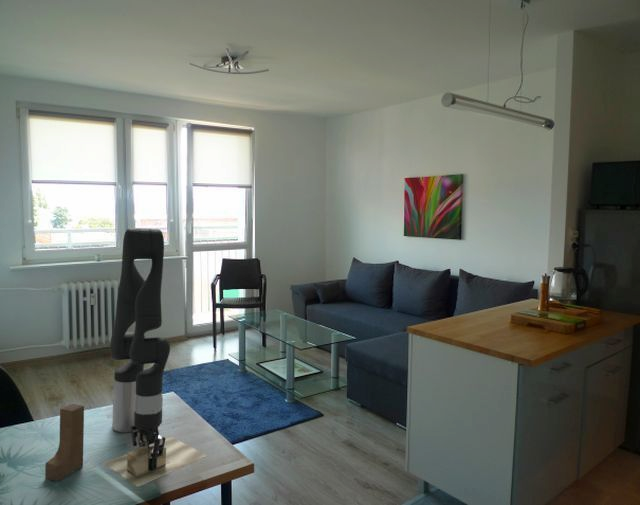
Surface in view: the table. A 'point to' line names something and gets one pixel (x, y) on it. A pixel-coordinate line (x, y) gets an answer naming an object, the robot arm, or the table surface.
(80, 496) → the table surface
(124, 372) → the robot arm
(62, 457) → the wooden block
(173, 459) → the board
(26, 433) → the table surface
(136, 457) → the block
